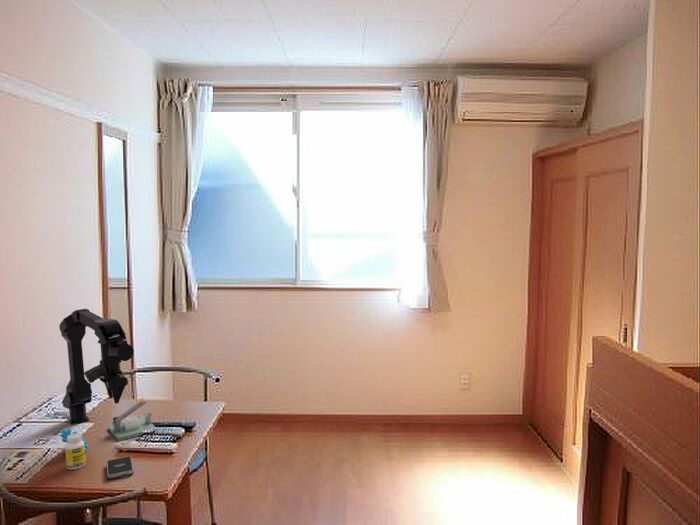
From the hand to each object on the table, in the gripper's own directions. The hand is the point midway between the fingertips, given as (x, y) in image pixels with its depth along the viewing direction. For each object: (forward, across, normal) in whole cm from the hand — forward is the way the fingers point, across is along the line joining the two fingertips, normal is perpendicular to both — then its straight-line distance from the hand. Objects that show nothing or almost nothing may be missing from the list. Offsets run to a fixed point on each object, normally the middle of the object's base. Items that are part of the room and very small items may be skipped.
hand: (113, 400), depth 192 cm
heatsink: (+12, -2, +5) cm, 13 cm away
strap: (+6, -2, +6) cm, 9 cm away
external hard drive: (+14, +28, -6) cm, 32 cm away
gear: (+13, +4, -14) cm, 20 cm away
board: (+13, -2, +6) cm, 14 cm away
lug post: (+13, -2, +12) cm, 17 cm away
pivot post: (+13, -2, 0) cm, 13 cm away
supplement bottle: (+13, +16, -16) cm, 26 cm away
